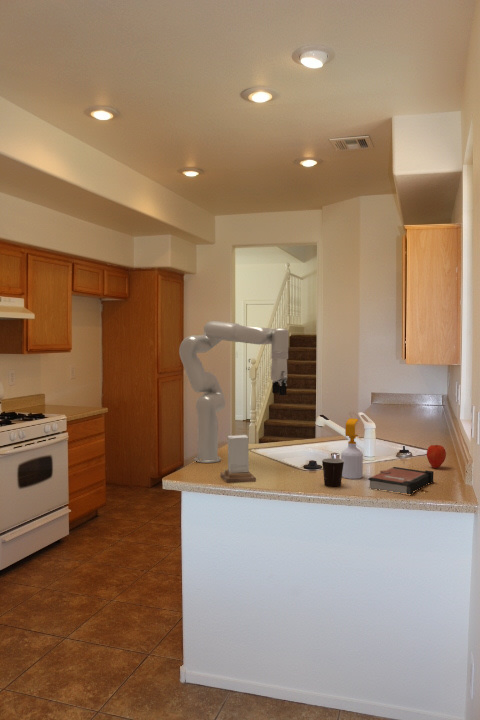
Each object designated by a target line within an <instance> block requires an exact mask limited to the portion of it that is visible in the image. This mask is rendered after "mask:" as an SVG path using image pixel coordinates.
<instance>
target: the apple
mask: <svg viewBox="0 0 480 720" xmlns="http://www.w3.org/2000/svg"><path fill="white" fill-rule="evenodd" d="M446 457H447V452H446V449H445V447H444V446H442V445H440V444H435V445H434V444H431V445H429V447H427V450H426V458H427V461H428V463H429V464H430V466H431V467H432V469H439V468H440V467H441V466H442V465H443V463H444V462H445V460H446Z"/></svg>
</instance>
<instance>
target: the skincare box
mask: <svg viewBox="0 0 480 720" xmlns="http://www.w3.org/2000/svg"><path fill="white" fill-rule="evenodd" d="M249 459H250V458H249V436H248V435H247V434H238V435H227V467H228V468H227V470H229V472H230V473H242V472H250V470H249V469H250V464H249V463H250V461H249Z"/></svg>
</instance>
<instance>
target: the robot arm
mask: <svg viewBox="0 0 480 720" xmlns="http://www.w3.org/2000/svg"><path fill="white" fill-rule="evenodd" d="M222 341H224V342H225V341H227V342H233V343H234V342H235V343H242V344H243V343H244V344H251V345H270V347H271V348H270V349H271V355H270V357H271V358H270V360H271V367H270V380H271V382H272V383H271V384H272V387H271V388H272V389H271V391H272V392H271V393H272V394H279V396H286V395H287V386H288V384H287V382H288V360H289V330H288V329H287V328H281V327H280V328H279V327H277V328H269V327H258V326H257V327H255V326H248V325H247V326H246V325H241V324H239V323H235V322H227V321H222V320H221V321H219V320H210V321H208V322H206V323H205V325H204V327H203V333H202V334H201V335H198V334H194V335H188V336H186V337H185V338H183V340H182V341H181V343H180V345H179V349H178V353H179V358H180V360H181V363H182V365H183V368H184V370H185V374H186V375H187V379H188V381H189V384H190V387H191V388H192V390H193V391H194V392H196V393H203V395H200V396H199V397H198V398H197V400H196V403H195V409H196V416H197V456H195V457H194V458H193V460H194V462H196V461H197V463H203V464H204V463H205V464H209V463H210V464H212V463H213V464H214V463H219V462H221V459H222V458H221V456H218V448H219V447H218V445H219V443H218V442H219V440H218V437H219V433H218V432H219V427H218V425H219V424H218V423H219V422H218V416H217V413H219V412H221V411H222V410H223V409H224V408H225V407H226V398H225V395H224V392H223V389H222V388H221V387H222V386H221V385H220V382H219V379H218V378H217V376H216V375H215V374H214V373H212V372H210V371H205V369H204V368H205V367H204V366H203V363H202V361H201V359H200V358H199V357H198V354H203V353H207V352H209V351H211V350H212V349H213V348H215V346H217V345H218V344H219V343H221V342H222ZM200 459H201V460H200ZM198 460H199V461H198Z"/></svg>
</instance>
